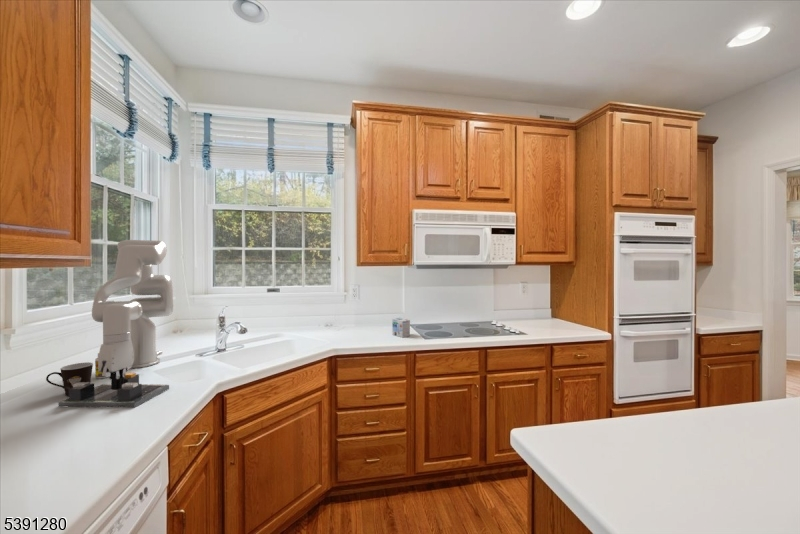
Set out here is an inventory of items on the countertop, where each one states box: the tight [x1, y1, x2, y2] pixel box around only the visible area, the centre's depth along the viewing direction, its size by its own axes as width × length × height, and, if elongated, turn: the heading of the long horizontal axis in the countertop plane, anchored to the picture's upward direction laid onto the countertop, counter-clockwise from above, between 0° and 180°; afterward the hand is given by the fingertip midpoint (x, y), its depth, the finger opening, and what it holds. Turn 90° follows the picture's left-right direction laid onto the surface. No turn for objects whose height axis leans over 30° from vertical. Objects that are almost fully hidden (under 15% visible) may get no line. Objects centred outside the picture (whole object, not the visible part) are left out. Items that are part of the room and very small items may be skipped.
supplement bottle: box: [94, 352, 108, 380], centre depth 138 cm, size 6×6×10 cm
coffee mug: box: [45, 361, 94, 397], centre depth 121 cm, size 12×9×10 cm
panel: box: [57, 382, 170, 408], centre depth 118 cm, size 16×26×7 cm, turn 89°
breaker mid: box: [124, 372, 140, 384], centre depth 122 cm, size 5×4×5 cm
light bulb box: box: [391, 317, 411, 339], centre depth 215 cm, size 11×7×11 cm, turn 41°
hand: (117, 388), depth 118 cm, fingers closed
